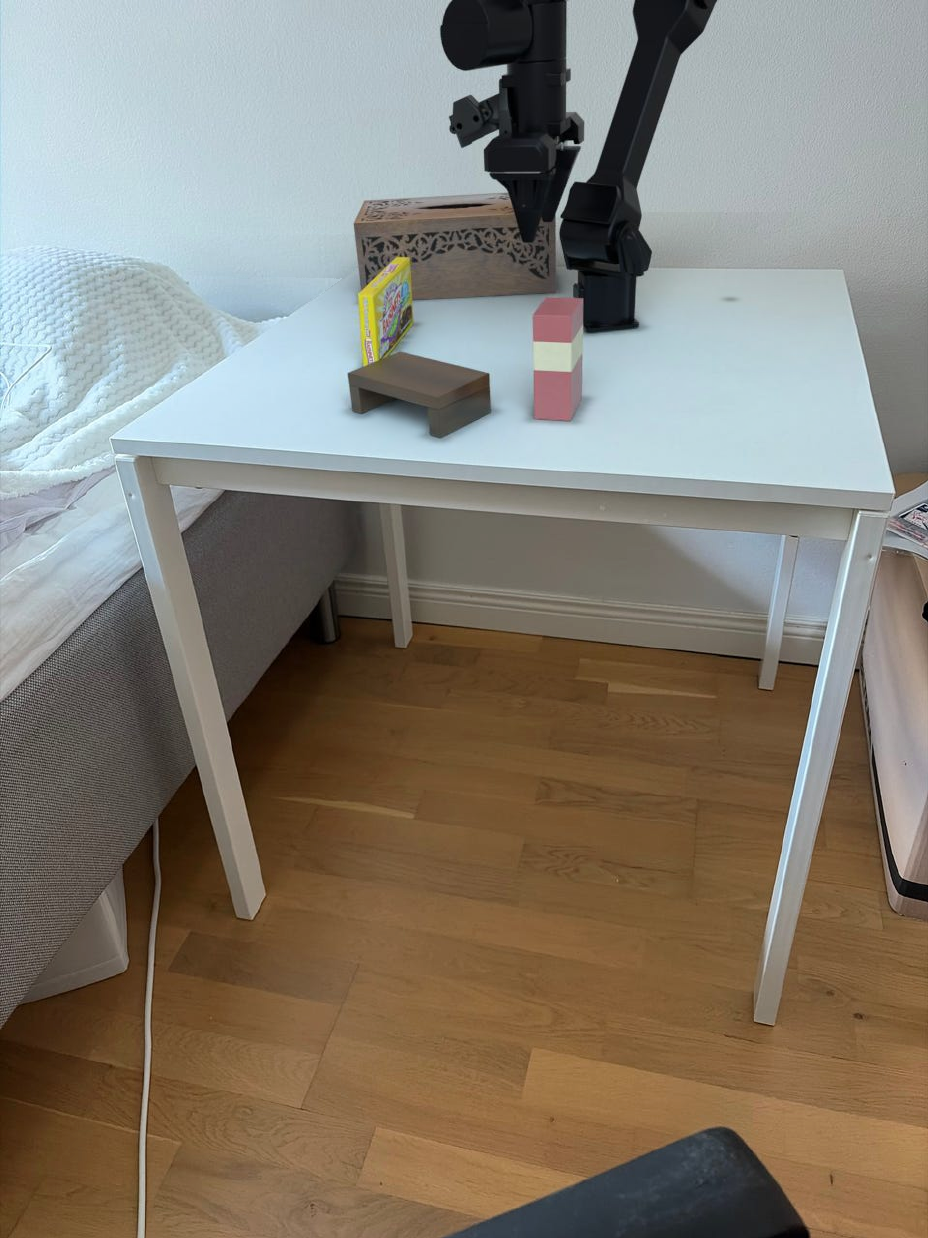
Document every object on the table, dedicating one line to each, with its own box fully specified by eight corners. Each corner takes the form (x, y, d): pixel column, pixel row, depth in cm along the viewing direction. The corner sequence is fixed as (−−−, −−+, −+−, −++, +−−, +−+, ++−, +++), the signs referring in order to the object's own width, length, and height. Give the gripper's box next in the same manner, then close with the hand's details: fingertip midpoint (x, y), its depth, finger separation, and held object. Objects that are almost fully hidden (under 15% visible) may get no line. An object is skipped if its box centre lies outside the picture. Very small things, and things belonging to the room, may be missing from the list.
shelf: (403, 388, 101) (399, 350, 99) (491, 412, 94) (489, 372, 92) (352, 411, 96) (347, 372, 94) (440, 438, 90) (437, 397, 87)
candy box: (381, 370, 106) (372, 294, 101) (362, 370, 106) (353, 294, 102) (416, 324, 119) (410, 255, 114) (399, 324, 119) (393, 255, 115)
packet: (546, 397, 97) (545, 296, 91) (582, 399, 96) (583, 297, 90) (533, 418, 92) (532, 314, 87) (571, 421, 91) (571, 316, 86)
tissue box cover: (548, 264, 139) (548, 189, 133) (555, 292, 127) (555, 211, 121) (372, 273, 140) (364, 200, 134) (362, 302, 128) (353, 223, 122)
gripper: (481, 54, 101) (487, 211, 110) (425, 72, 86) (437, 252, 95) (586, 50, 98) (583, 212, 107) (546, 68, 83) (547, 254, 92)
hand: (538, 231), depth 100 cm, fingers open, 9 cm apart
